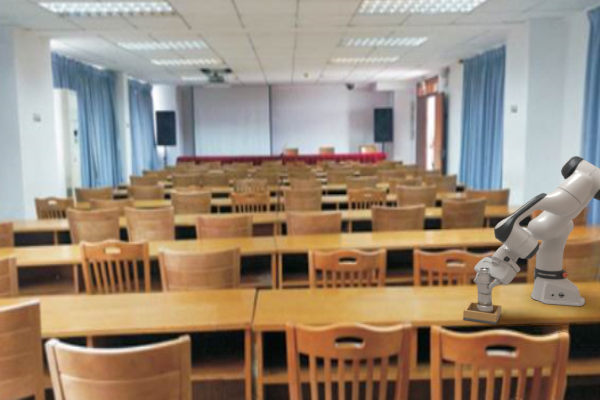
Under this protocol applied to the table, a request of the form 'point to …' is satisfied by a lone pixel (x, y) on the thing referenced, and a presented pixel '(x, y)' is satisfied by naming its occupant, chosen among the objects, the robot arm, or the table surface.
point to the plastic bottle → (484, 291)
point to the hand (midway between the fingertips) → (482, 285)
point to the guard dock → (481, 314)
